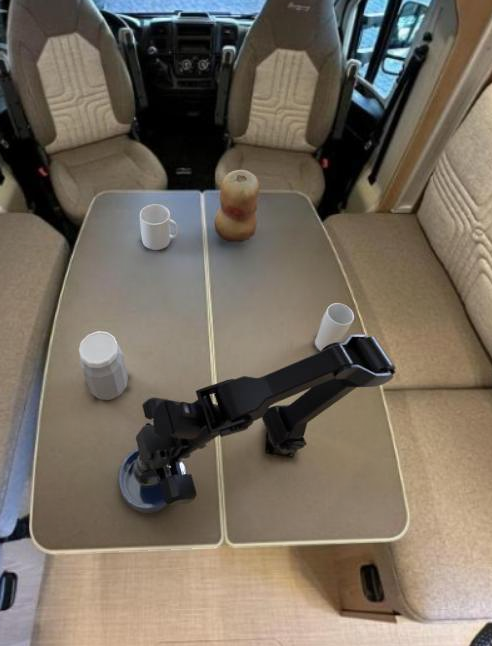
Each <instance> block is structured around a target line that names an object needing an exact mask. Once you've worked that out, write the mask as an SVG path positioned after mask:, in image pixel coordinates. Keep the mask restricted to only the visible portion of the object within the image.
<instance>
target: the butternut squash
mask: <svg viewBox="0 0 492 646" xmlns="http://www.w3.org/2000/svg"><path fill="white" fill-rule="evenodd" d="M259 193H260V184H259V181H258V178H257V176H256V175H255V174H253V173H252V172H250V171H248V170H245V169H237V170H236V169H235V170H233V171H230V172H229V173H228V174H226V175H225V176H224V178H223V179H222V182H221V187H220V194H219V202H220V207H219V209H218V210H217V212H216V214H215V215H214V220H213V222H214V223H213V224H214V229H215V231H216V232H215V233H216V234H217V235H218V236H219V237H220V239H222V240H223V241H225V242H230V243H243V242H245V241H249V240H250V239H251V238H252V237H254V236H255V234H256V231H257V230H256V229H257V226H258V219H257V213H256V212H257V210H258V196H259Z"/></svg>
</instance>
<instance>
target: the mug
mask: <svg viewBox="0 0 492 646" xmlns="http://www.w3.org/2000/svg"><path fill="white" fill-rule="evenodd" d="M139 225H140V235H141V241H142V242H141V243H142V244H143V246H144V247H146V248H147V249H149V250H151V251H152V250H154V251H159V250H163V249H165V248H167V247H168V246H169V245H170V243H171V240H174V239H176V238H177V237H178V236H179V229H180V228H179V226H178V224H177V223H176V222H175V221H174V220H173V219H171V212H170V209H169V208H168V207H166V206H165V205H162V204H157V203H154V204H153V203H152V204H148V205H146V206H144V207H143V208H141V210H140V211H139ZM172 225H173V226H174V227H175V231H176V232H175V234H174V235H172V234H171V226H172Z"/></svg>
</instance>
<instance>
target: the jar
mask: <svg viewBox="0 0 492 646" xmlns="http://www.w3.org/2000/svg"><path fill="white" fill-rule="evenodd" d="M78 353H79V356H80V358H79V364H80V367H81V370H82V372H83V376H84V378H85V381H86V383H87V386H88V389H89V391H90V394H91V395H93V396H94V397H95V398H97V399H98V400H106V401H110V400H113V399H115V398H117V397H120V396H121V394H122V393H123V392H124V391H125V390H126V389H127V384H128V380H129V378H128V372H127V368H126V363H125V357H124V354H123V351H122V349H121V347H120V345H118V342H117V340H116V337H115V336H113V335H112V334H111V333H110V332H107V331H95V332H93V333H89V334H87V335H86V336H85V337H84V338H83V339H82V340H81V342H80V344H79V348H78Z"/></svg>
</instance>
